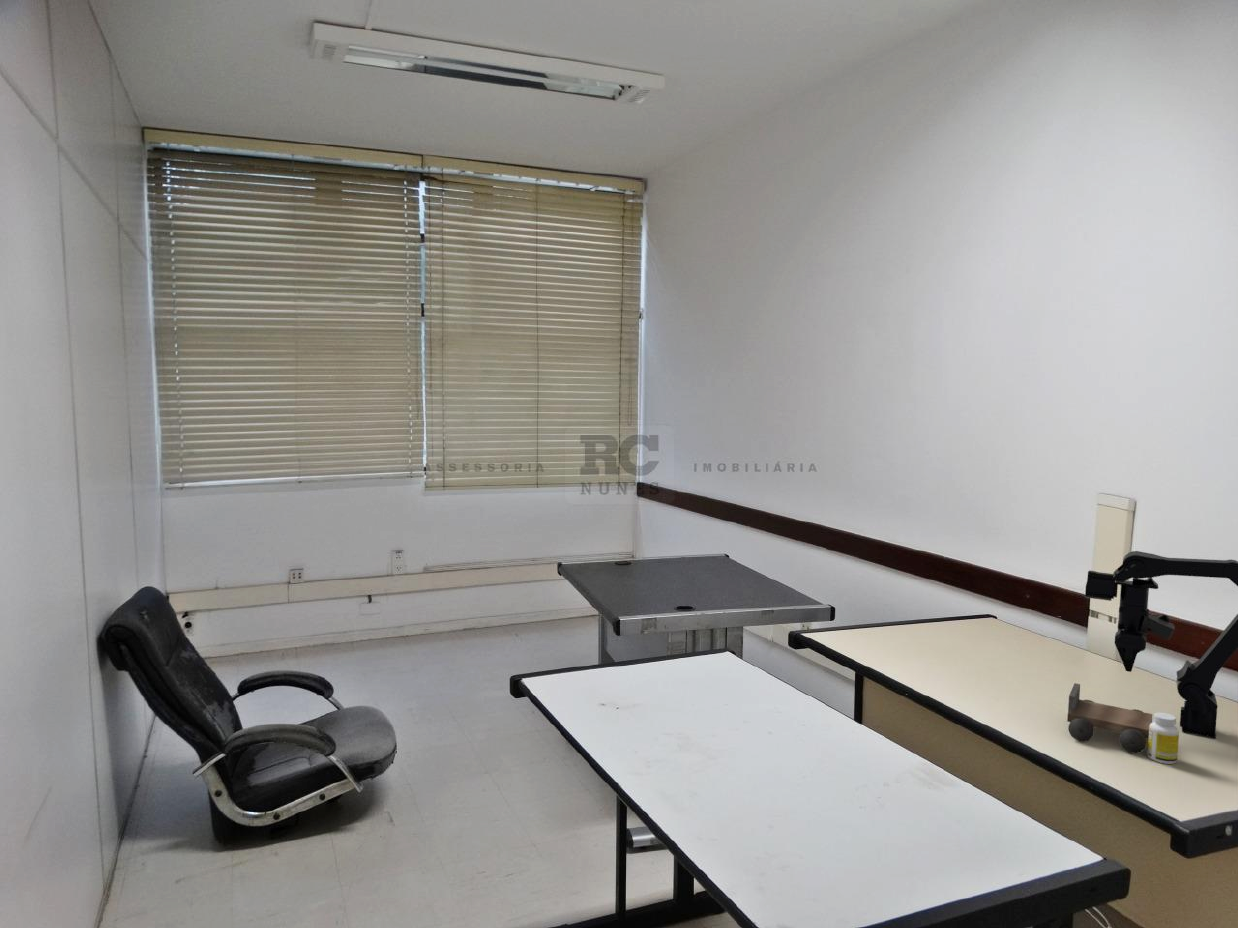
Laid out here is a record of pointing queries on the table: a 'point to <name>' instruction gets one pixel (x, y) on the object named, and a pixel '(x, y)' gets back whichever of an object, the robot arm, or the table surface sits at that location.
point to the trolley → (1107, 721)
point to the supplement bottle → (1163, 739)
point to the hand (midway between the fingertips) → (1129, 665)
